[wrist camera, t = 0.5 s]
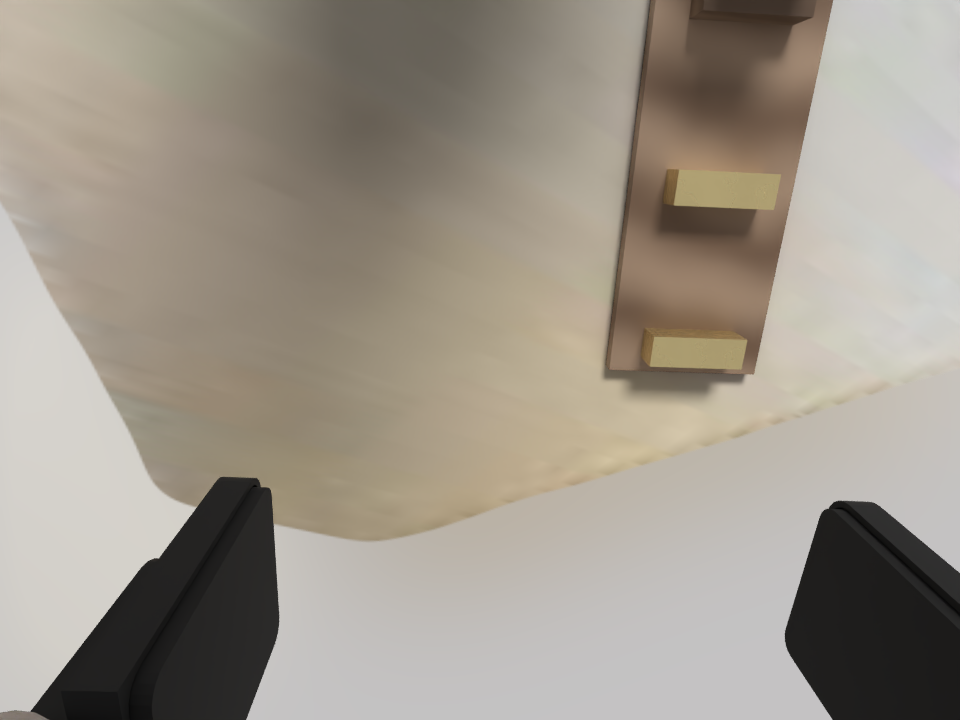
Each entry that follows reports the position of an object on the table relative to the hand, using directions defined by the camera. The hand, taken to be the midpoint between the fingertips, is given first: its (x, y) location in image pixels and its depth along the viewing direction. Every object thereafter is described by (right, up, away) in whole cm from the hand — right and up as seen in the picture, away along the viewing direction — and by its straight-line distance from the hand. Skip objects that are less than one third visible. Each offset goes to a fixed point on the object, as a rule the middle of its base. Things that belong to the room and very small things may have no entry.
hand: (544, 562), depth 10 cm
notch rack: (+13, +19, +25) cm, 34 cm away
